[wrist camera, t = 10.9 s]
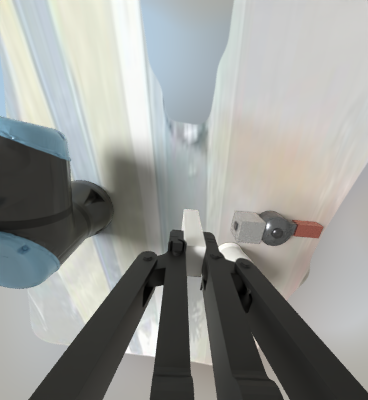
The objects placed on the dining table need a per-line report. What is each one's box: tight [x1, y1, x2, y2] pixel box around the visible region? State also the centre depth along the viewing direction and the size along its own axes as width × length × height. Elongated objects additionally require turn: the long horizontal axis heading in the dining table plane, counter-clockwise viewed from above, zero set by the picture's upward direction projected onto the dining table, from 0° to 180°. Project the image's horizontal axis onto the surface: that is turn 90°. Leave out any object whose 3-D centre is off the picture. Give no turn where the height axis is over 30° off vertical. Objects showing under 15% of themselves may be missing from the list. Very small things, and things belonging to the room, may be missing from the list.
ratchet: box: [259, 211, 323, 246], centre depth 46 cm, size 22×8×6 cm, turn 84°
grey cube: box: [231, 211, 266, 244], centre depth 45 cm, size 6×6×6 cm
